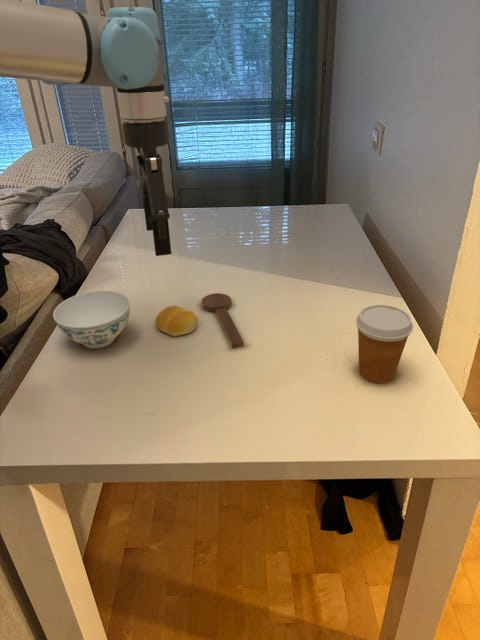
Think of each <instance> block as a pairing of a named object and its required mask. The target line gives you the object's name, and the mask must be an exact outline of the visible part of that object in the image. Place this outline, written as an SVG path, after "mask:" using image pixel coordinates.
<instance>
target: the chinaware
mask: <svg viewBox="0 0 480 640" xmlns="http://www.w3.org/2000/svg"><path fill="white" fill-rule="evenodd" d="M130 312H131V301H130V298H128V296H126V295H125V294H123V293H122V292H117V291H113V290H92V291H87V292H82V293H79V294H76V295H72V296H70V297H69V298H67V299H65V300H63V301H62V302H60V303H59V304H58V305H57V306H56V307H55V308H54V310H53V313H52V316H53V320H54V322H55V324H56V325H57V328H59V330H60V331H61V332H62V333H63V334H64V335H65V336H66V337H67V338H68V339H70V340H72V341H74V342H76V343H78V344H81V345H83V346H84V347H86V348H89V349H101V348H104V347H107V346H109V345H111V344H112V343H113V342H114V341H115V340H116V337H118V336H119V335H120V333H122V331H123V330H124V328H125V327H126V325H127V324H128V320H129V317H130Z"/></svg>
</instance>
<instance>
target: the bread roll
mask: <svg viewBox="0 0 480 640" xmlns="http://www.w3.org/2000/svg"><path fill="white" fill-rule="evenodd" d="M155 326H156V327H157V328H158V329H159V330H160V331H162V332H164V333H166V334H167V335H169V336H171V337H172V336H173V337H179V336H182V335H187V334H191V333H193V332H194V330H195V329H196V327H197V326H198V318H197V316H196V314H195V313H194V312H193V311H191V310H186V309H185V308H183V307H181V306H179V305H170V306H167V307H165V308H164V309H162V310H161V311H160V312H159V313H158V314H157V316H156V317H155Z"/></svg>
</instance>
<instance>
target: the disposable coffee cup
mask: <svg viewBox="0 0 480 640" xmlns="http://www.w3.org/2000/svg"><path fill="white" fill-rule="evenodd" d="M355 324H356V327H357V337H358V338H357V339H358V342H357V343H358V348H357V349H358V373H359V375H360V376H361V378H363V379H364V380H366V381H368V382H370V383H374V384H386V383H389V382H391V381H393V379H394V378H395V375H396V372H397V370H398V366H399V364H400V360H401V359H402V355H403V352H404V350H405V347H406V344H407V340H408V338H409V336H410V335H411V333H412V332H413V330H414V325H413V322H412V317H411V315H410V314H409V313H408V311H407V312H406V311H405V310H404V309H402V308H400V307H397V306H393V305H389V304H372V305H367V306H365V307H364V308H362V309H361V310H360V311H359V314H357V316H356V318H355Z"/></svg>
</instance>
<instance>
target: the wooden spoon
mask: <svg viewBox="0 0 480 640" xmlns="http://www.w3.org/2000/svg"><path fill="white" fill-rule="evenodd" d="M201 307H202V309H203V310H204V311H206V312H208V313H215V315H216V316H215V317H216V318H217V320H218V323H219V324H220V326H221V328H222V330H223V332H224V335H225V336H226V339H227V340H228V342H229V345H230V347H231V348H232V349H236V348H242V347H244V340H243V338H242V336H241V334H240V331H239V330H238V329H237V326H236V324H235V323H234V321H233V319H232V317H231V315H230V314H229V311H228V310H229V309H231V307H232V298H231V297H230V295H228V294H225V293H221V292H220V293H219V292H218V293H217V292H216V293H209V294H207V295H205V296H204V297H203V298H202V299H201Z"/></svg>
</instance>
